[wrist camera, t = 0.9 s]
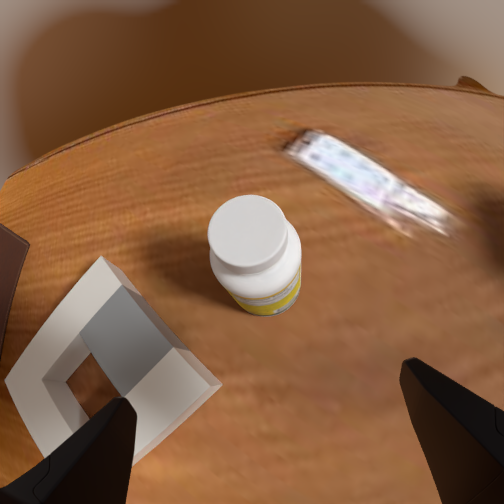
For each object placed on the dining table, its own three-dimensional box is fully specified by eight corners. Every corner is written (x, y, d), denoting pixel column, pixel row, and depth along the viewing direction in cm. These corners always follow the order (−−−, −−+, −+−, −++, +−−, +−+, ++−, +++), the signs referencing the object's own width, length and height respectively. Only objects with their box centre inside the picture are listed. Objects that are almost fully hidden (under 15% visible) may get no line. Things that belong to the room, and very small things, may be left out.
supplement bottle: (237, 251, 25) (205, 182, 16) (302, 255, 24) (305, 183, 15) (228, 315, 23) (184, 275, 14) (297, 320, 22) (300, 284, 13)
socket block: (223, 384, 21) (210, 386, 17) (98, 492, 17) (76, 501, 14) (121, 269, 26) (101, 255, 22) (27, 383, 22) (4, 380, 19)
